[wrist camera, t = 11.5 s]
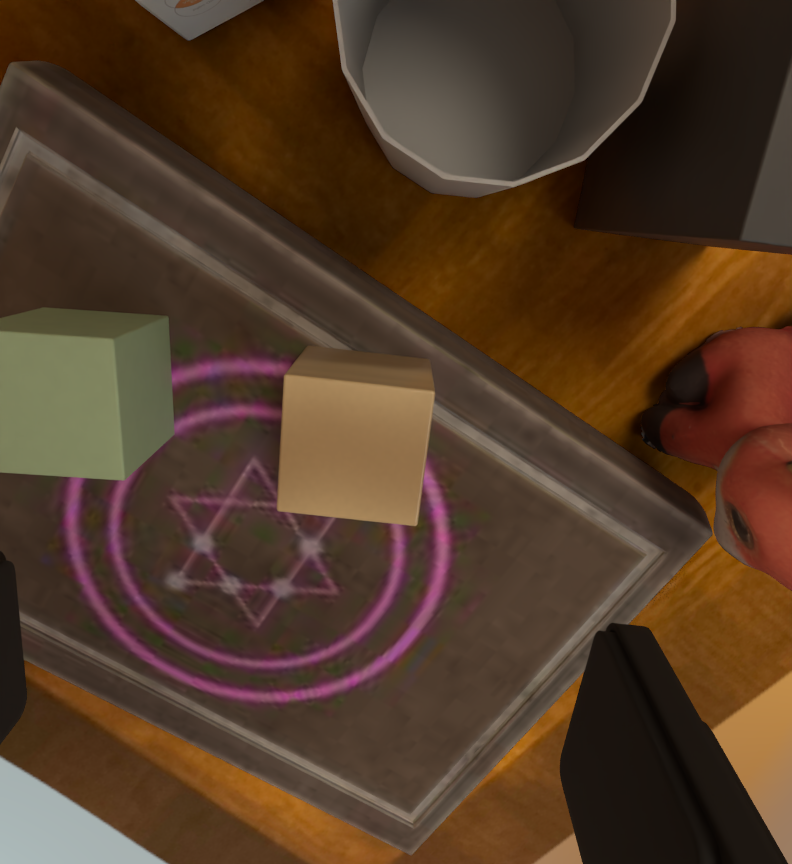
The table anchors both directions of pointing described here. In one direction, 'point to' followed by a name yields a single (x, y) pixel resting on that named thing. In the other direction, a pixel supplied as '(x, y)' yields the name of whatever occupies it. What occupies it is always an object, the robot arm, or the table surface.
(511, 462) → the book
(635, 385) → the table surface
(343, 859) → the table surface
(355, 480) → the birch block
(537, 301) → the table surface
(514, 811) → the table surface
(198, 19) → the small box
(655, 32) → the cup
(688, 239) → the stand
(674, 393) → the stuffed fox
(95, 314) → the sage block
